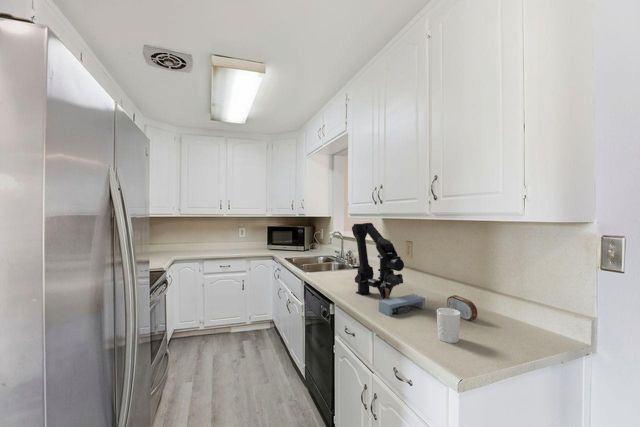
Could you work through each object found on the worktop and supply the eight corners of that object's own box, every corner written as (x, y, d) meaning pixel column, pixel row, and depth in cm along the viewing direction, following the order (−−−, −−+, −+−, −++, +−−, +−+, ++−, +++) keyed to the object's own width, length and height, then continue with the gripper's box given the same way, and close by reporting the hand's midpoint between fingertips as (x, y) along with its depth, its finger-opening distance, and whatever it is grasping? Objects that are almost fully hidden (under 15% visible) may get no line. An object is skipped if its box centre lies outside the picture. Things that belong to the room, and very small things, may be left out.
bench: (378, 311, 133) (378, 300, 133) (413, 304, 144) (413, 294, 144) (389, 316, 127) (389, 304, 127) (424, 308, 138) (424, 297, 138)
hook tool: (374, 304, 143) (374, 290, 143) (385, 302, 147) (385, 288, 147) (398, 313, 130) (398, 298, 130) (409, 311, 133) (409, 295, 133)
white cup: (431, 336, 106) (431, 309, 106) (447, 333, 110) (447, 306, 110) (449, 345, 99) (449, 316, 99) (465, 341, 102) (465, 313, 102)
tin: (478, 322, 120) (478, 302, 120) (472, 323, 119) (472, 303, 119) (451, 311, 134) (451, 292, 134) (445, 311, 133) (445, 293, 133)
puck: (389, 310, 135) (389, 307, 135) (395, 309, 136) (395, 306, 136) (395, 313, 131) (395, 310, 131) (401, 312, 133) (401, 308, 133)
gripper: (381, 272, 134) (381, 306, 134) (411, 268, 143) (411, 300, 143) (366, 268, 143) (366, 299, 144) (395, 264, 152) (395, 294, 152)
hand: (385, 298), depth 145 cm, fingers closed on hook tool, 2 cm apart
